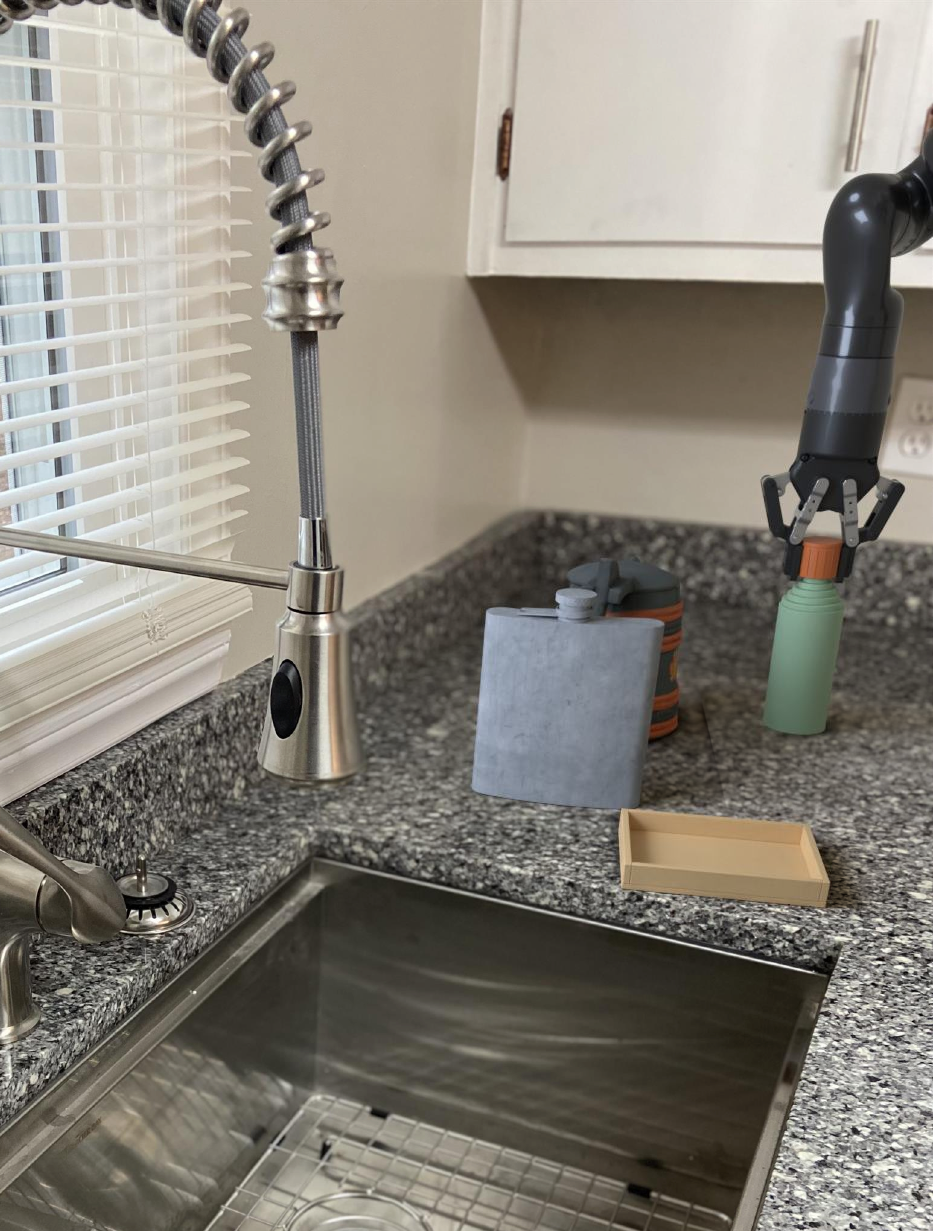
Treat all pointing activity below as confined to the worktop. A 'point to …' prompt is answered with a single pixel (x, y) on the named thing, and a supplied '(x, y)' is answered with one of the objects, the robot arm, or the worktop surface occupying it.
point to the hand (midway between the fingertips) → (814, 579)
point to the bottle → (804, 657)
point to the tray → (721, 858)
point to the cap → (820, 557)
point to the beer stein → (641, 596)
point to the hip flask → (565, 704)
